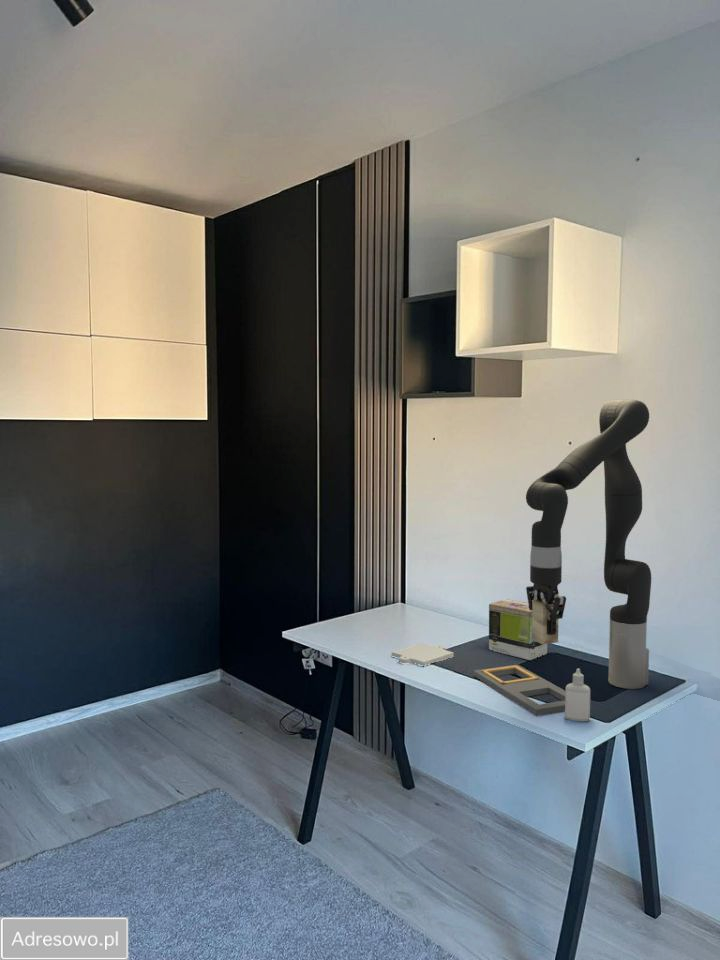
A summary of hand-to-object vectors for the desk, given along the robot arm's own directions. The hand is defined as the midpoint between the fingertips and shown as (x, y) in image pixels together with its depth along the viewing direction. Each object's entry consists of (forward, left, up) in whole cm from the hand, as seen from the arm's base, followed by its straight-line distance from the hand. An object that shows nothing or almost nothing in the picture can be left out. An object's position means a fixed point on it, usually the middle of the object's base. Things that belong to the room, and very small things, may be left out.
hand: (545, 631), depth 185 cm
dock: (0, -8, -18) cm, 19 cm away
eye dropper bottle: (-1, +12, -18) cm, 22 cm away
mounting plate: (+13, -43, -19) cm, 49 cm away
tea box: (-16, -37, -18) cm, 44 cm away
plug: (0, 0, -2) cm, 2 cm away
